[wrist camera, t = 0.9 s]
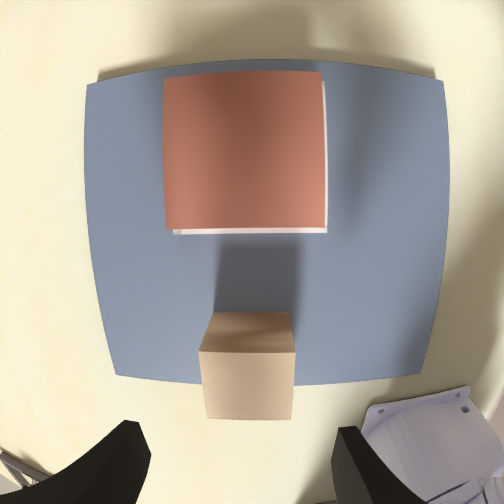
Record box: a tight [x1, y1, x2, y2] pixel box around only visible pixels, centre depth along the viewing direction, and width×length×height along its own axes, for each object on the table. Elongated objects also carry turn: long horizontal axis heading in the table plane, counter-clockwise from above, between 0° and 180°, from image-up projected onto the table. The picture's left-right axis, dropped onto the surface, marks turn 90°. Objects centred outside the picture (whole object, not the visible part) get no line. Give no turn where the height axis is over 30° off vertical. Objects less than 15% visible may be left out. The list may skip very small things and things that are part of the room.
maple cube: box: [198, 312, 296, 420], centre depth 14 cm, size 4×4×4 cm
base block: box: [163, 71, 325, 230], centre depth 12 cm, size 6×6×4 cm
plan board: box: [84, 59, 450, 386], centre depth 15 cm, size 20×18×1 cm
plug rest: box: [0, 452, 50, 486], centre depth 25 cm, size 18×12×2 cm, turn 91°
